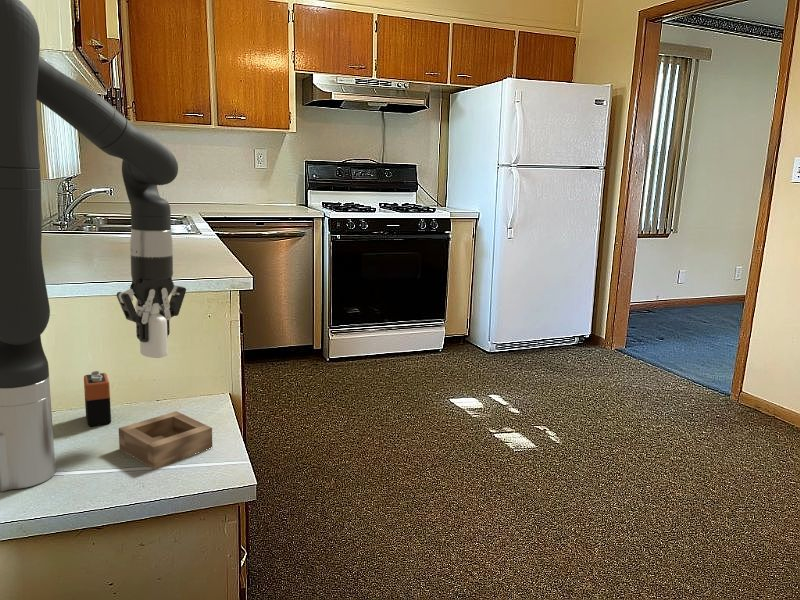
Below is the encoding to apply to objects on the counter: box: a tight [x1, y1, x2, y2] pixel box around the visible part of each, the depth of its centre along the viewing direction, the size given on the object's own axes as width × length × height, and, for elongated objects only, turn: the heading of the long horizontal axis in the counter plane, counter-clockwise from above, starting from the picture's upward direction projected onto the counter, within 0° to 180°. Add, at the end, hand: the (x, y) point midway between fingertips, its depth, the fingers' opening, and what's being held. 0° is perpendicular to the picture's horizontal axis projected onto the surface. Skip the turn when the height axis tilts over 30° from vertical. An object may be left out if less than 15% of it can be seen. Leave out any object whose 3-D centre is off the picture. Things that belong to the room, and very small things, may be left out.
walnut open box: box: [118, 411, 213, 470], centre depth 117 cm, size 12×12×4 cm
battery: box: [83, 370, 112, 427], centre depth 128 cm, size 4×7×10 cm, turn 30°
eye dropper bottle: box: [139, 303, 169, 359], centre depth 121 cm, size 4×6×12 cm
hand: (153, 339), depth 122 cm, fingers closed on eye dropper bottle, 3 cm apart
